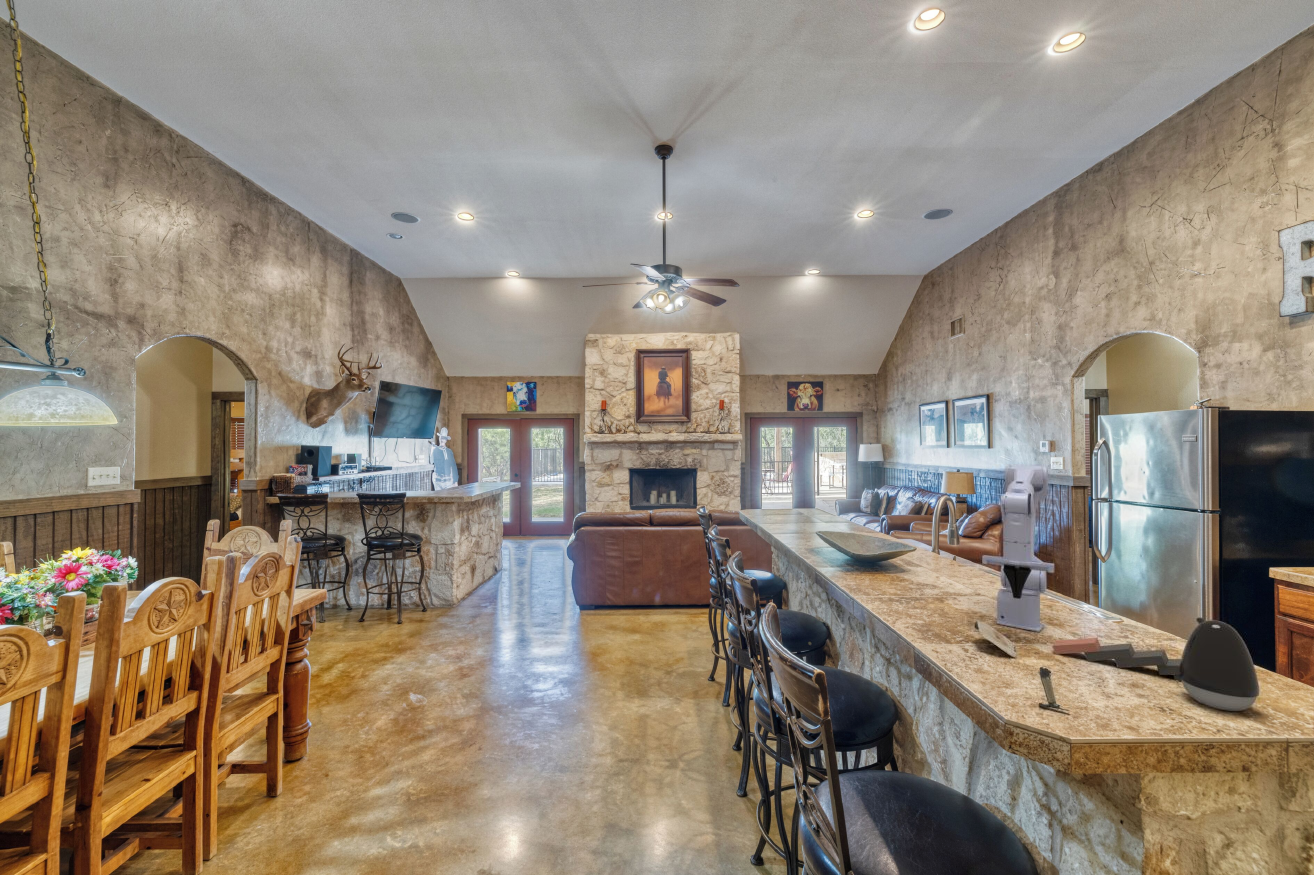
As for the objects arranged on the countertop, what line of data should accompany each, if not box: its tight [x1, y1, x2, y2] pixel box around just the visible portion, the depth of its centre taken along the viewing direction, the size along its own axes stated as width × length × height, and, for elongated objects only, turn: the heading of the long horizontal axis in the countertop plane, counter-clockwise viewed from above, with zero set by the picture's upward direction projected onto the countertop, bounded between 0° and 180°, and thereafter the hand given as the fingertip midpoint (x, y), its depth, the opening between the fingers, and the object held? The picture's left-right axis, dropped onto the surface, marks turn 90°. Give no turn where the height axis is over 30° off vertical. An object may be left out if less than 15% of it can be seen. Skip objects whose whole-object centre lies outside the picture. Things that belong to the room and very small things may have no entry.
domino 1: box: [1083, 643, 1136, 662], centre depth 118 cm, size 2×5×8 cm
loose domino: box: [1052, 637, 1101, 655], centre depth 122 cm, size 2×5×8 cm
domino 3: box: [1156, 658, 1181, 676], centre depth 110 cm, size 2×5×8 cm
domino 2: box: [1113, 649, 1169, 668], centre depth 114 cm, size 2×5×8 cm
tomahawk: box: [1038, 666, 1071, 716], centre depth 103 cm, size 21×7×1 cm, turn 146°
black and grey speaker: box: [1179, 616, 1260, 712], centre depth 99 cm, size 10×10×15 cm
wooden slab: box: [974, 620, 1018, 659], centre depth 126 cm, size 11×4×12 cm
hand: (1017, 597), depth 131 cm, fingers closed
